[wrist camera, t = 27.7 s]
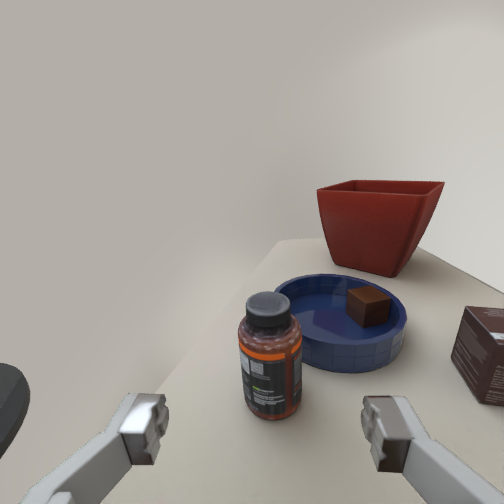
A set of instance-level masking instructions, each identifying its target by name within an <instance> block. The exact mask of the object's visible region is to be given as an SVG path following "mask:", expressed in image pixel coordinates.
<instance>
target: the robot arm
mask: <svg viewBox="0 0 504 504" xmlns="http://www.w3.org/2000/svg"><path fill="white" fill-rule="evenodd" d="M165 402H166V398H165V394H143V393H128V394H127V395H126V396H125V397H124V399H123V400H122V402H121V404H120V405H119V407H118V409H117V410H116V412H115V414H114V416H113V417H112V419H111V420H110V422H109V424H108V426H107V428H106V429H105V431H104V432H103V433H99V434H97V435H96V436H95V437H94V438H92V439H91V440H90V441H89V442H87V443H86V444H85V445H84V446H83V447H81V448H80V449H79V450H77V451H76V452H75V453H74V454H72V455H71V456H70V457H69V458H67V459H66V460H65V461H64V462H63V463H61V464H60V465H59V466H58V467H56V468H55V469H54V470H52V471H51V472H50V473H49V474H47V475H46V476H45V477H44V478H42V479H41V480H40V481H39V482H37V483H36V484H35V485H34V486H32V487H31V488H30V489H29V490H28V492H27V493H26V494H25V496H24V497H23V499H22V500H21V501H20V503H19V504H100V503H101V501H102V500H103V499H104V498H105V497H106V496H107V495H108V493H109V492H110V491H111V490H112V489H113V488H114V487H115V485H116V484H117V483H118V482H119V481H120V480H121V479H122V477H123V476H124V475H125V474H126V473H127V472H128V471H129V469H130V468H131V467H132V465H154V462H155V460H156V457H157V454H158V452H159V449H160V442H159V439H160V438H161V437H162V436H163V435H164V434H165V432H166V429H167V427H168V421H169V410H168V407H166V406H165V405H164V404H165ZM363 405H364V407H365V408H364V409H363V410H362V411H361V424H362V428H363V432H364V435H365V438H366V439H367V440H368V441H369V442H370V443H371V449H370V452H371V455H372V457H373V460H374V463H375V466H376V468H377V471H378V472H393V473H402V475H403V476H404V477H405V478H406V479H407V481H408V482H409V483H410V484H411V485H412V486H413V487H414V489H415V490H416V491H417V492H418V493H419V494H420V496H421V497H422V498H423V499H424V500H425V501H426V502H427V504H504V494H503V493H502V492H500V491H499V490H498V489H497V488H495V487H494V486H493V485H492V484H490V483H489V482H488V481H487V480H485V479H484V478H483V477H482V476H481V475H479V474H478V473H477V472H476V471H474V470H473V469H472V468H471V467H469V466H468V465H467V464H466V463H464V462H463V461H462V460H461V459H459V458H458V457H457V456H456V455H454V454H453V453H452V452H451V451H449V450H448V449H447V448H446V447H444V446H443V445H442V444H441V443H439V442H438V441H437V440H432V439H431V437H430V436H429V434H428V432H427V431H426V429H425V427H424V426H423V424H422V422H421V421H420V419H419V417H418V416H417V414H416V412H415V411H414V409H413V407H412V406H411V404H410V402H409V400H408V399H407V398H406V397H405V396H364V398H363Z"/></svg>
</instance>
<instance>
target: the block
mask: <svg viewBox="0 0 504 504" xmlns="http://www.w3.org/2000/svg"><path fill="white" fill-rule="evenodd" d="M390 302H391V298H390V297H389V296H387V295H386V294H384V293H382V292H381V291H379V290H378V289H376V288H375V287H373V286H371V285H369V286H364V287H359V288H354V289H349V290H348V291H347V302H346V314H347V315H348V316H350V317H351V318H352V319H353V320H354V321H355V322H356V323H357V324H358V325H360V326H361V327H362V328H367V327H372V326H376V325H380V324H384V323H387V321H388V315H389V308H390Z"/></svg>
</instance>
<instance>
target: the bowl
mask: <svg viewBox="0 0 504 504" xmlns="http://www.w3.org/2000/svg"><path fill="white" fill-rule="evenodd" d="M369 285H371V286H373V287H375V288H376V289H378V290H379V291H381V292H382V293H384V294H386V295H387V296H389V297H390V298H391V302H390V308H389V315H388V321H387V323H384V324H380V325H376V326H372V327H367V328H362V327H361V326H360V325H358V324H357V323H356V322H355V321H354V320H353V319H352V318H351V317H350V316H348V315H347V314H346V302H347V291H348V290H349V289H354V288H359V287H364V286H369ZM274 292H277V293H281V294H283V295H285V296H286V297H287V298H288V299H289V301H290V309H291V314H292V315H293V316H294V317H295V318H296V319H297V320H298V322H299V324H300V326H301V332H302V362H304V363H306V364H309V365H311V366H314V367H317V368H320V369H324V370H328V371H333V372H340V373H362V372H368V371H373V370H376V369H379V368H381V367H383V366H385V365H387V364H389V363H390V362H391V361H393V360H394V359H395V358H396V357H397V355H398V354H399V352H400V350H401V345H402V342H403V339H404V333H405V328H406V323H407V315H406V310H405V307H404V306H403V305H402V303H401V302H400V300H399V299H398V298H396V297H395V296H394V295H393V294H392V293H390V292H389V291H387V290H386V289H384V288H382V287H380V286H378V285H376V284H374V283H371V282H368V281H365V280H363V279H359V278H355V277H350V276H344V275H336V274H314V275H305V276H301V277H296V278H293V279H291V280H288V281H286V282H284V283H283V284H281V285H280V286H278V287H277V288H276V290H275V291H274Z"/></svg>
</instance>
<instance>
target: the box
mask: <svg viewBox="0 0 504 504" xmlns="http://www.w3.org/2000/svg"><path fill="white" fill-rule="evenodd" d="M451 360H452V362H453V363H454V365H455V366H456V368H457V369H458V370H459V372H460V374H461V375H462V377H463V378H464V380H465V382H466V383H467V385H468V387H469V388H470V390H471V391H472V393H473V395H474V397H475V398H476V400H477V401H478V402H480V403H488V404H494V405H501V406H504V309H498V308H486V307H473V306H465V309H464V313H463V316H462V319H461V323H460V326H459V330H458V333H457V337H456V341H455V344H454V347H453V351H452V354H451Z"/></svg>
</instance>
